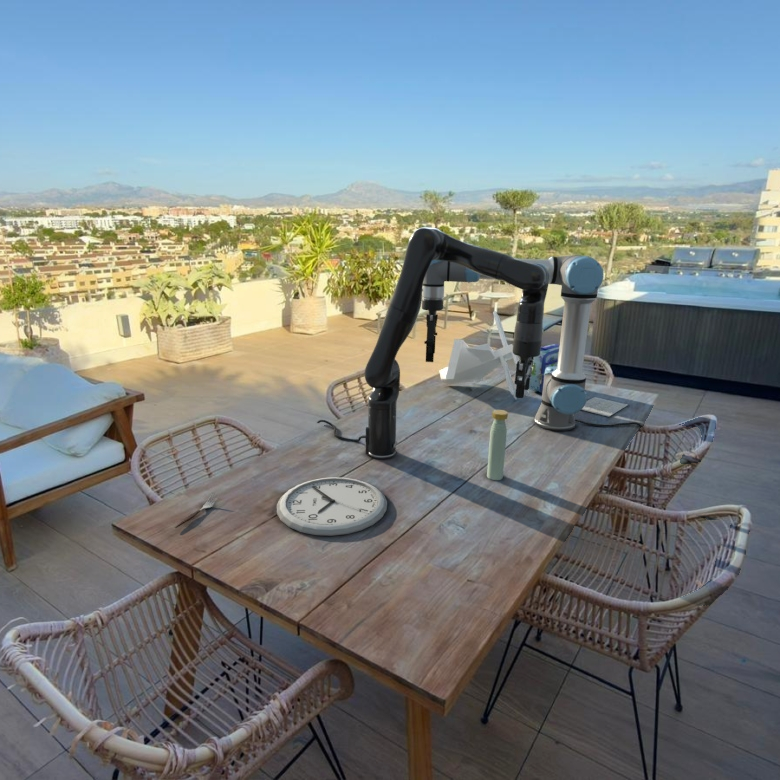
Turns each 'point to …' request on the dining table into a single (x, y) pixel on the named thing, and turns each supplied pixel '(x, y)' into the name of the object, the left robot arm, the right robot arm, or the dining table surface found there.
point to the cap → (500, 414)
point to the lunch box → (543, 366)
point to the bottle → (497, 450)
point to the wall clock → (331, 506)
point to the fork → (206, 505)
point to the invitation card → (603, 406)
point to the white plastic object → (479, 361)
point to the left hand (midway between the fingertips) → (522, 393)
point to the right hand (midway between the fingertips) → (430, 357)
